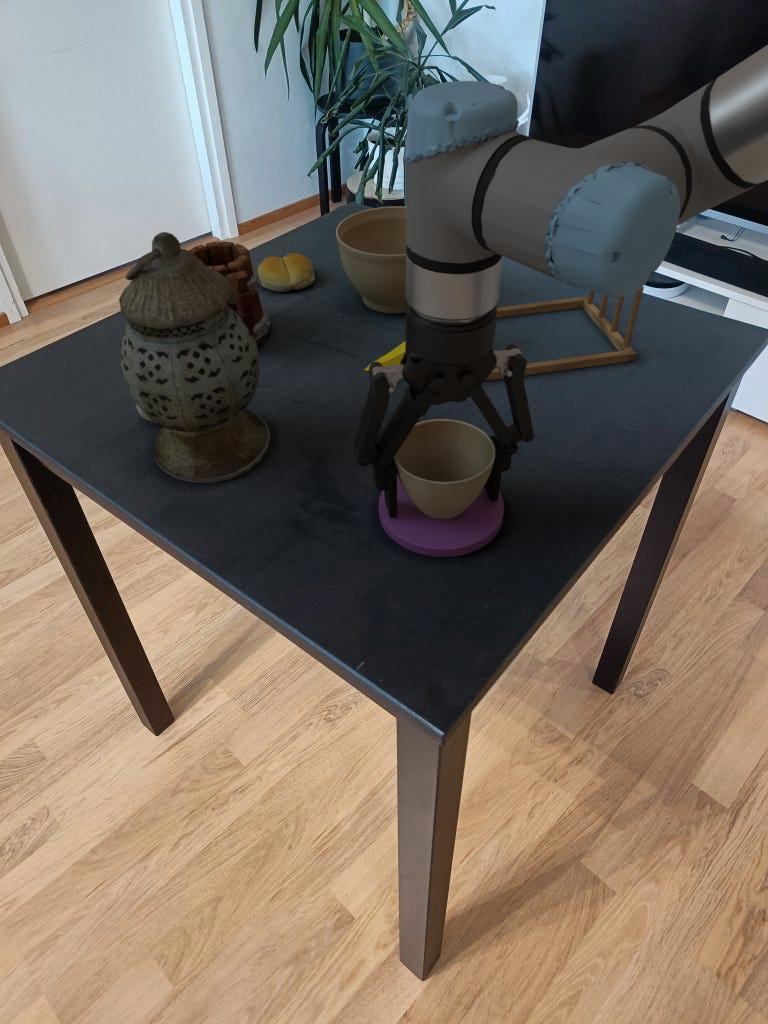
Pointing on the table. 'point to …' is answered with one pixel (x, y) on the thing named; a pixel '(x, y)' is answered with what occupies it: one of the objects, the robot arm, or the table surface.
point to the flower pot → (444, 466)
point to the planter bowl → (376, 256)
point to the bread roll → (286, 272)
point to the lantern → (191, 366)
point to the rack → (597, 316)
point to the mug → (238, 283)
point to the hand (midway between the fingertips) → (441, 500)
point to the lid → (442, 526)
